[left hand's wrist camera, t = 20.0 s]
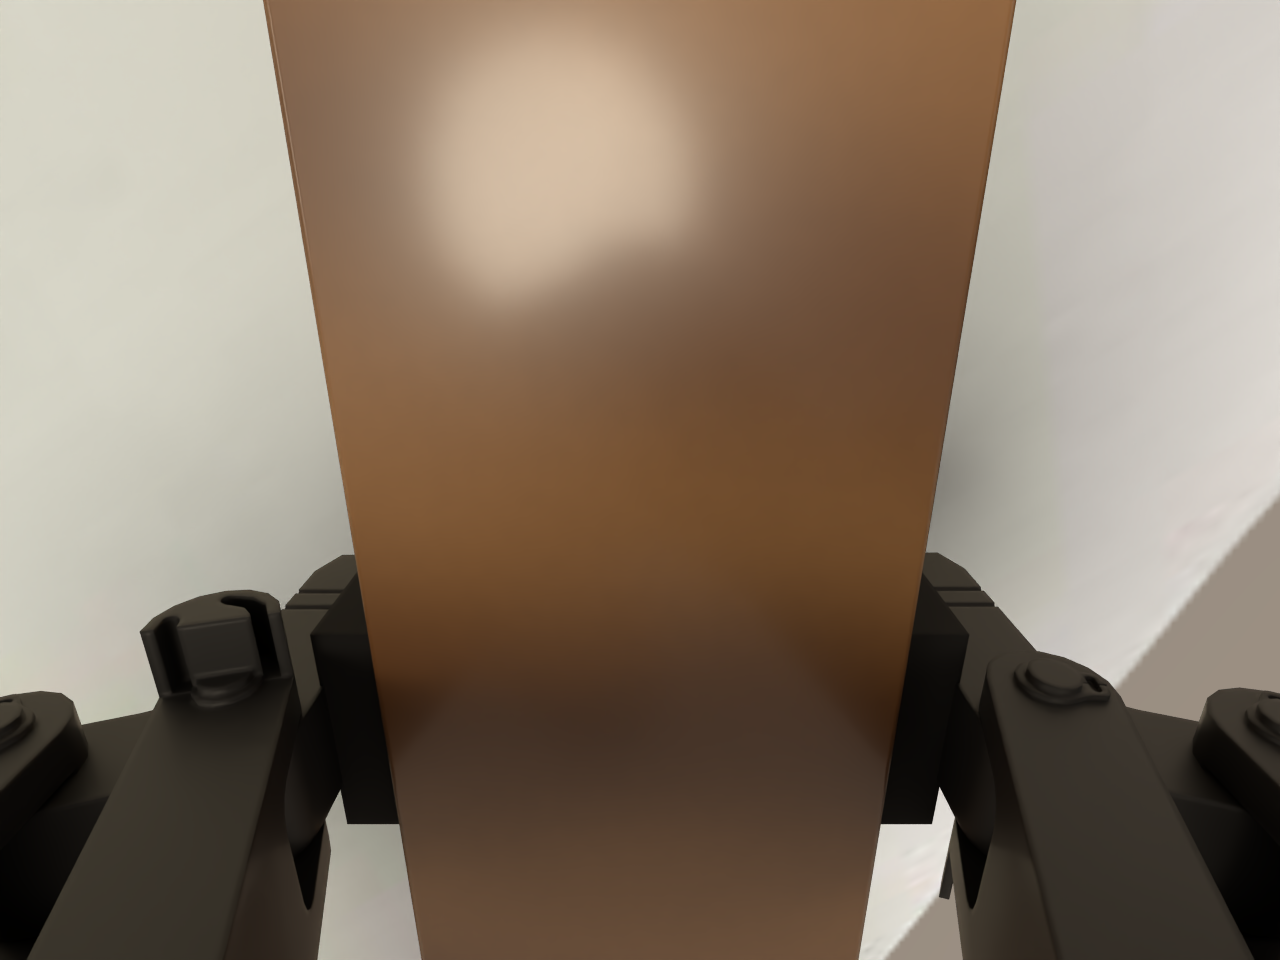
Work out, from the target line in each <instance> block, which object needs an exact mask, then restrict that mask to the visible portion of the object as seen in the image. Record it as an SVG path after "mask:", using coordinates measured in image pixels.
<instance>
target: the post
mask: <svg viewBox="0 0 1280 960" xmlns="http://www.w3.org/2000/svg"><path fill="white" fill-rule="evenodd" d="M263 2H264V9H265V15H266V21H267V27H268V33H269V39H270V45H271V51H272V57H273V63H274V69H275V75H276V81H277V87H278V93H279V99H280V105H281V111H282V117H283V123H284V130H285V136H286V142H287V148H288V154H289V160H290V166H291V172H292V178H293V184H294V190H295V196H296V202H297V208H298V214H299V220H300V226H301V232H302V238H303V244H304V250H305V257H306V263H307V269H308V275H309V281H310V287H311V293H312V299H313V305H314V311H315V317H316V323H317V329H318V335H319V341H320V347H321V353H322V359H323V365H324V371H325V378H326V384H327V390H328V396H329V402H330V408H331V414H332V420H333V426H334V432H335V438H336V444H337V450H338V456H339V462H340V468H341V474H342V480H343V486H344V492H345V498H346V505H347V511H348V517H349V523H350V529H351V535H352V541H353V547H354V553H355V559H356V565H357V571H358V577H359V583H360V589H361V595H362V601H363V607H364V613H365V619H366V625H367V632H368V638H369V644H370V650H371V656H372V662H373V668H374V674H375V680H376V686H377V692H378V698H379V704H380V710H381V716H382V722H383V728H384V734H385V740H386V746H387V753H388V759H389V765H390V771H391V777H392V783H393V789H394V795H395V801H396V807H397V813H398V819H399V825H400V831H401V837H402V843H403V849H404V855H405V861H406V867H407V873H408V880H409V886H410V892H411V898H412V904H413V910H414V916H415V922H416V928H417V934H418V940H419V946H420V952H421V958H422V960H858V959H859V953H860V946H861V940H862V934H863V928H864V922H865V916H866V910H867V904H868V898H869V892H870V886H871V880H872V874H873V868H874V861H875V855H876V849H877V843H878V837H879V831H880V825H881V819H882V813H883V807H884V801H885V795H886V789H887V782H888V776H889V770H890V764H891V758H892V752H893V746H894V740H895V734H896V728H897V722H898V716H899V710H900V703H901V697H902V691H903V685H904V679H905V673H906V667H907V661H908V655H909V649H910V643H911V637H912V631H913V625H914V618H915V612H916V606H917V600H918V594H919V588H920V582H921V576H922V570H923V564H924V558H925V552H926V546H927V539H928V533H929V527H930V521H931V515H932V509H933V503H934V497H935V491H936V485H937V479H938V473H939V467H940V460H941V454H942V448H943V442H944V436H945V430H946V424H947V418H948V412H949V406H950V400H951V394H952V388H953V381H954V375H955V369H956V363H957V357H958V351H959V345H960V339H961V333H962V327H963V321H964V315H965V309H966V303H967V296H968V290H969V284H970V278H971V272H972V266H973V260H974V254H975V248H976V242H977V236H978V230H979V224H980V217H981V211H982V205H983V199H984V193H985V187H986V181H987V175H988V169H989V163H990V157H991V151H992V145H993V138H994V132H995V126H996V120H997V114H998V108H999V102H1000V96H1001V90H1002V84H1003V78H1004V72H1005V66H1006V60H1007V53H1008V47H1009V41H1010V35H1011V29H1012V23H1013V17H1014V11H1015V5H1016V0H263Z"/></svg>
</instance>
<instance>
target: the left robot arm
mask: <svg viewBox="0 0 1280 960" xmlns="http://www.w3.org/2000/svg"><path fill="white" fill-rule="evenodd" d="M285 606H286V608H285V609H282V610H281V609H280V604H279V601H278V600H277V599H275V598H274V597H273V596H271V595H270V594H268V593H264V592H258V591H253V590H235V591H223V592H218V593H214V594H209V595H204V596H200V597H197V598H194V599H191V600H189V601H186V602H183V603H181V604H178V605H175V606H173V607H172V608H170V609H168V610H166V611H165V612H163V613H161V614H159V615H158V616H156V617H154V618H153V619H152V620H151V621H150V622H149V623H148V624H147V625H146V626H145V627H144V628H143V629H142V630H141V631H140V634H141V637H142V641H143V644H144V647H145V651H146V654H147V657H148V661H149V664H150V667H151V671H152V674H153V677H154V681H155V684H156V687H157V691H158V694H159V697H160V698H159V700H158V701H157V703H156V705H155V707H154V709H153V710H152V711H148V712H144V713H140V714H135V715H130V716H125V717H119V718H114V719H109V720H104V721H99V722H94V723H89V724H84V725H81V722H80V720H79V717H78V714H77V711H76V708H75V706H74V703H73V701H72V700H70V699H69V698H68V697H66V696H65V695H63V694H62V693H54V692H45V691H38V692H30V693H23V694H12V695H8V696H4V697H0V960H317V958H318V950H319V942H320V934H321V926H322V918H323V910H324V902H325V894H326V886H327V878H328V870H329V862H330V855H331V847H330V840H329V834H328V829H327V825H326V820H325V819H326V817H327V815H328V813H329V811H330V809H331V807H332V805H333V803H334V801H335V799H336V797H337V795H338V793H339V791H340V789H341V794H342V799H343V804H344V809H345V814H346V819H347V824H399V819H398V813H397V807H396V801H395V795H394V789H393V783H392V777H391V771H390V765H389V759H388V753H387V746H386V740H385V734H384V728H383V722H382V716H381V710H380V704H379V698H378V692H377V686H376V680H375V674H374V668H373V662H372V656H371V650H370V644H369V638H368V632H367V625H366V619H365V613H364V607H363V601H362V595H361V589H360V583H359V577H358V571H357V565H356V559H355V555H342V556H340V557H338V558H336V559H335V560H333V561H331V562H330V563H328V564H326V565H325V566H323V567H321V568H320V569H318V570H316V571H315V572H314V573H313V574H312V575H311V577H310V578H309V579H308V580H307V581H306V582H305V583H304V585H303V586H302V587H301V588H300V589H299V594H295V595H294V596H293V597H292V598H291V600H290V601H289V602H288V603H287V604H286V605H285ZM939 787H940V788H941V790H942V792H943V794H944V796H945V798H946V800H947V802H948V804H949V806H950V808H951V810H952V812H953V814H954V816H955V820H954V825H953V829H952V834H951V839H950V843H949V848H948V853H947V857H946V862H945V867H944V872H943V876H942V881H941V887H940V894H939V897H941V898H945V899H949V897H950V893H951V889H952V884H953V885H954V892H955V900H956V908H957V916H958V924H959V932H960V940H961V948H962V956H963V960H1280V694H1279V693H1275V692H1271V691H1261V690H1254V689H1246V688H1232V689H1223V690H1218V691H1217V692H1215V693H1214V694H1212V695H1211V696H1209V697H1208V698H1207V701H1206V703H1205V706H1204V709H1203V712H1202V715H1201V717H1200V720H1199V722H1197V721H1192V720H1187V719H1182V718H1177V717H1172V716H1167V715H1162V714H1157V713H1152V712H1146V711H1141V710H1137V709H1133V708H1129V707H1126V706H1125V704H1124V702H1123V700H1122V698H1121V696H1120V695H1119V694H1118V693H1117V691H1116V690H1115V689H1114V688H1113V687H1112V685H1111V684H1110V683H1109V682H1108V681H1107V680H1105V679H1104V678H1102V677H1101V676H1100V675H1098V674H1097V673H1095V672H1094V671H1092V670H1091V669H1089V668H1087V667H1085V666H1083V665H1081V664H1078V663H1076V662H1074V661H1071V660H1069V659H1067V658H1064V657H1060V656H1056V655H1052V654H1048V653H1044V652H1040V651H1036V650H1035V649H1034V648H1033V646H1032V645H1031V644H1030V643H1029V642H1028V641H1027V640H1026V638H1025V637H1024V636H1023V635H1022V634H1021V633H1020V631H1019V630H1018V629H1017V628H1016V627H1015V626H1014V625H1013V623H1012V622H1011V621H1010V620H1009V619H1008V618H1007V617H1006V615H1005V614H1004V613H1003V612H1002V611H1001V610H1000V609H999V607H995V606H994V602H993V601H992V599H991V598H990V597H989V596H988V595H987V594H986V593H985V591H981V587H980V586H979V585H978V583H977V582H976V581H975V580H974V579H973V578H972V577H971V575H970V574H969V573H968V572H967V571H966V570H965V569H964V568H963V567H961V566H959V565H958V564H956V563H954V562H952V561H951V560H949V559H947V558H946V557H944V556H942V555H941V554H939V553H925V558H924V564H923V570H922V576H921V582H920V588H919V594H918V600H917V606H916V612H915V618H914V625H913V631H912V637H911V643H910V649H909V655H908V661H907V667H906V673H905V679H904V685H903V691H902V697H901V703H900V710H899V716H898V722H897V728H896V734H895V740H894V746H893V752H892V758H891V764H890V770H889V776H888V782H887V789H886V795H885V801H884V807H883V813H882V819H881V824H932V821H933V816H934V811H935V806H936V801H937V796H938V791H939Z"/></svg>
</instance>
